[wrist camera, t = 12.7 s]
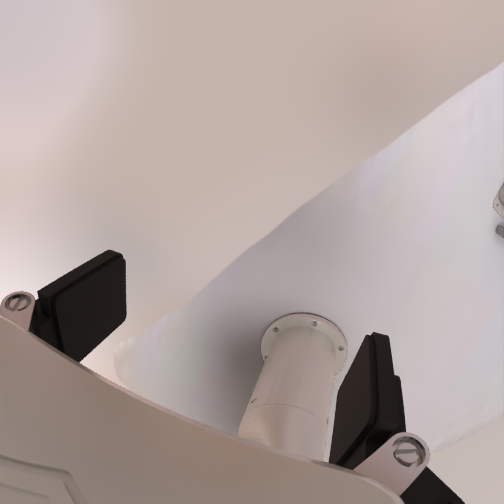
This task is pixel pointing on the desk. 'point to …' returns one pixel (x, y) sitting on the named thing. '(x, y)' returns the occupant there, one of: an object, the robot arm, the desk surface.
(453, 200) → the desk surface
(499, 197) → the emergency button
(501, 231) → the frame
